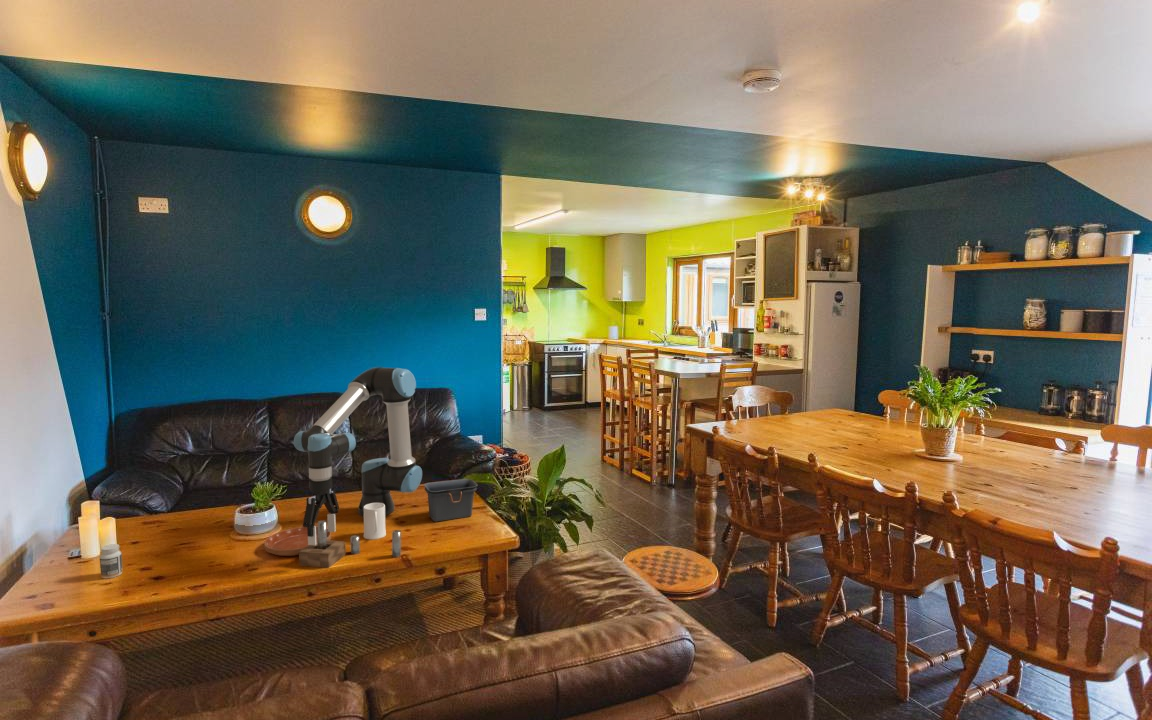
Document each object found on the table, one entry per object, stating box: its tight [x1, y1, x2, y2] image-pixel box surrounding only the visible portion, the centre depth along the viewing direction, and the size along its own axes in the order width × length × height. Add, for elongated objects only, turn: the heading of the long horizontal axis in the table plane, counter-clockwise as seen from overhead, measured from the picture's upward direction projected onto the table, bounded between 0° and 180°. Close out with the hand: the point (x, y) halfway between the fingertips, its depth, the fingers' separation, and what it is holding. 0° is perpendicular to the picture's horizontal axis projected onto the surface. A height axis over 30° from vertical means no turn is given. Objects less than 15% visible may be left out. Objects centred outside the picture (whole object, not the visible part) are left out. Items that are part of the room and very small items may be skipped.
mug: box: [363, 503, 387, 540], centre depth 234 cm, size 12×8×12 cm
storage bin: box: [423, 478, 478, 523], centre depth 256 cm, size 21×16×14 cm
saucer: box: [263, 525, 332, 557], centre depth 225 cm, size 23×23×4 cm
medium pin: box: [391, 529, 402, 558], centre depth 217 cm, size 3×3×9 cm
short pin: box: [350, 534, 361, 555], centre depth 219 cm, size 3×3×6 cm
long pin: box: [316, 520, 328, 550], centre depth 212 cm, size 3×3×14 cm
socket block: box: [298, 539, 346, 569], centre depth 212 cm, size 11×11×5 cm
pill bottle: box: [99, 543, 124, 580], centre depth 198 cm, size 6×6×10 cm
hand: (322, 537), depth 212 cm, fingers open, 11 cm apart
